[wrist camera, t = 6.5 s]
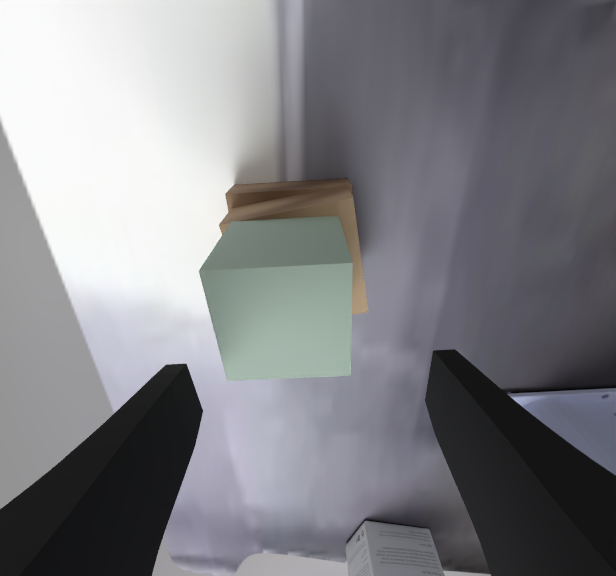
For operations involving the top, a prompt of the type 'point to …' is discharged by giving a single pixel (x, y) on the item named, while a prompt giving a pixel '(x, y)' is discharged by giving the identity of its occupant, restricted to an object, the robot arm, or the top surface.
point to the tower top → (314, 205)
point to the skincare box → (392, 551)
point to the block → (281, 298)
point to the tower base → (277, 190)
